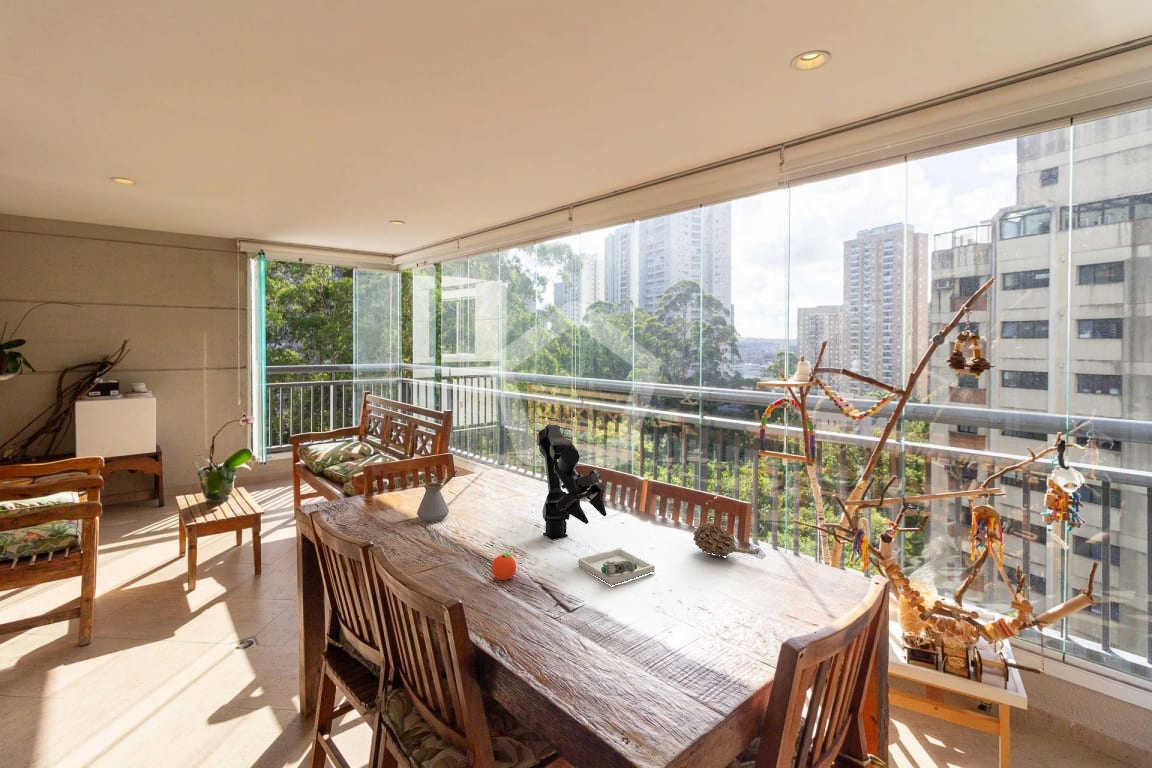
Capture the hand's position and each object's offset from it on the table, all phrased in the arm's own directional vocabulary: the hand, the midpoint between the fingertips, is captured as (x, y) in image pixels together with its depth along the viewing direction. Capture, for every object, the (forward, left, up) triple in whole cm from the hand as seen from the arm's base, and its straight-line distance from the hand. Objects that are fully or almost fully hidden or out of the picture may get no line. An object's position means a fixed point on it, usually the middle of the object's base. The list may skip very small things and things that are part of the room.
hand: (596, 519), depth 170 cm
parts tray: (+2, -8, -14) cm, 16 cm away
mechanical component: (0, -6, -12) cm, 13 cm away
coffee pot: (-23, +66, -14) cm, 71 cm away
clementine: (-28, +5, -14) cm, 32 cm away
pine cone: (+37, -20, -14) cm, 44 cm away
